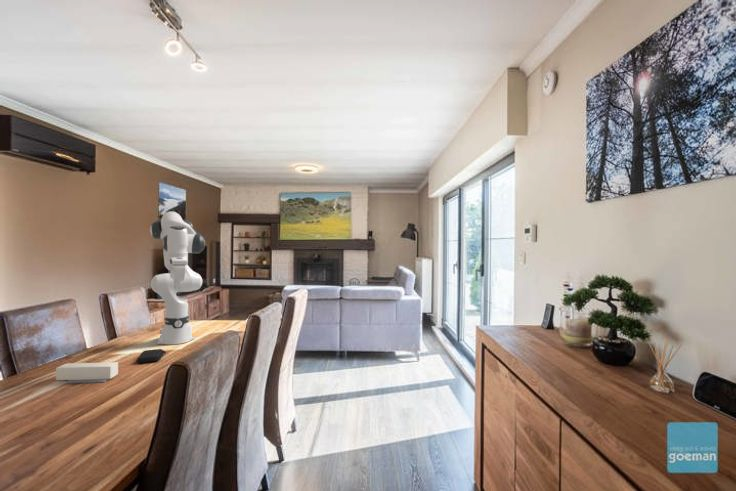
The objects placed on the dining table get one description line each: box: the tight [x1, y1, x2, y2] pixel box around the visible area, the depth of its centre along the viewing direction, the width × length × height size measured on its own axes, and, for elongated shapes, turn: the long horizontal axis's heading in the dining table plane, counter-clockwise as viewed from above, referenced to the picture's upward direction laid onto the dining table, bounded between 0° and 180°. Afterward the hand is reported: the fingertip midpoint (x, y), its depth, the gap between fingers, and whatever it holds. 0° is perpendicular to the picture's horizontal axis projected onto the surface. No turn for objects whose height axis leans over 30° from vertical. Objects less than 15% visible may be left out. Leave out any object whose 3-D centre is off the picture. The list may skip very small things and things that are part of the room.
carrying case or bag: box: [135, 348, 167, 365], centre depth 162 cm, size 11×3×15 cm
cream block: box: [55, 361, 119, 381], centre depth 138 cm, size 5×5×20 cm
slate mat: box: [65, 371, 120, 384], centre depth 138 cm, size 14×10×1 cm
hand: (176, 289), depth 160 cm, fingers closed
